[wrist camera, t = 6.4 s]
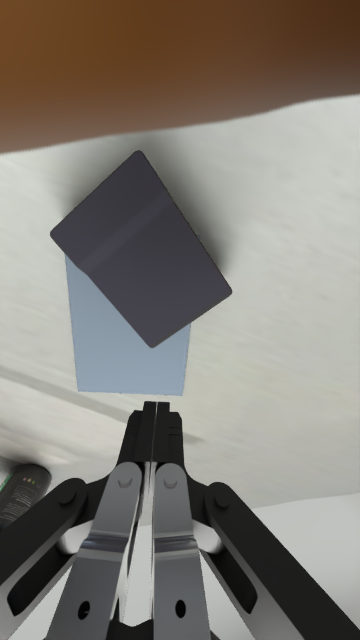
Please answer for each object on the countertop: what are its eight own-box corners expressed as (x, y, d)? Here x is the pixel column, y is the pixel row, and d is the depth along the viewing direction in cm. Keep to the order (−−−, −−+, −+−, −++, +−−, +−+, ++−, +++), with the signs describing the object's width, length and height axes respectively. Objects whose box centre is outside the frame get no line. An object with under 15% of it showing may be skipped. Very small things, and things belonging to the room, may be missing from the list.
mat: (199, 236, 23) (200, 235, 22) (182, 392, 30) (182, 395, 30) (64, 222, 22) (61, 221, 21) (79, 388, 29) (78, 391, 29)
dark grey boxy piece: (226, 287, 24) (147, 168, 20) (236, 294, 20) (139, 146, 16) (155, 337, 26) (71, 237, 22) (150, 353, 22) (46, 233, 18)
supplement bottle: (4, 465, 34) (-81, 575, 22) (44, 460, 34) (-20, 567, 22) (20, 491, 36) (-50, 603, 25) (57, 486, 36) (6, 596, 25)
